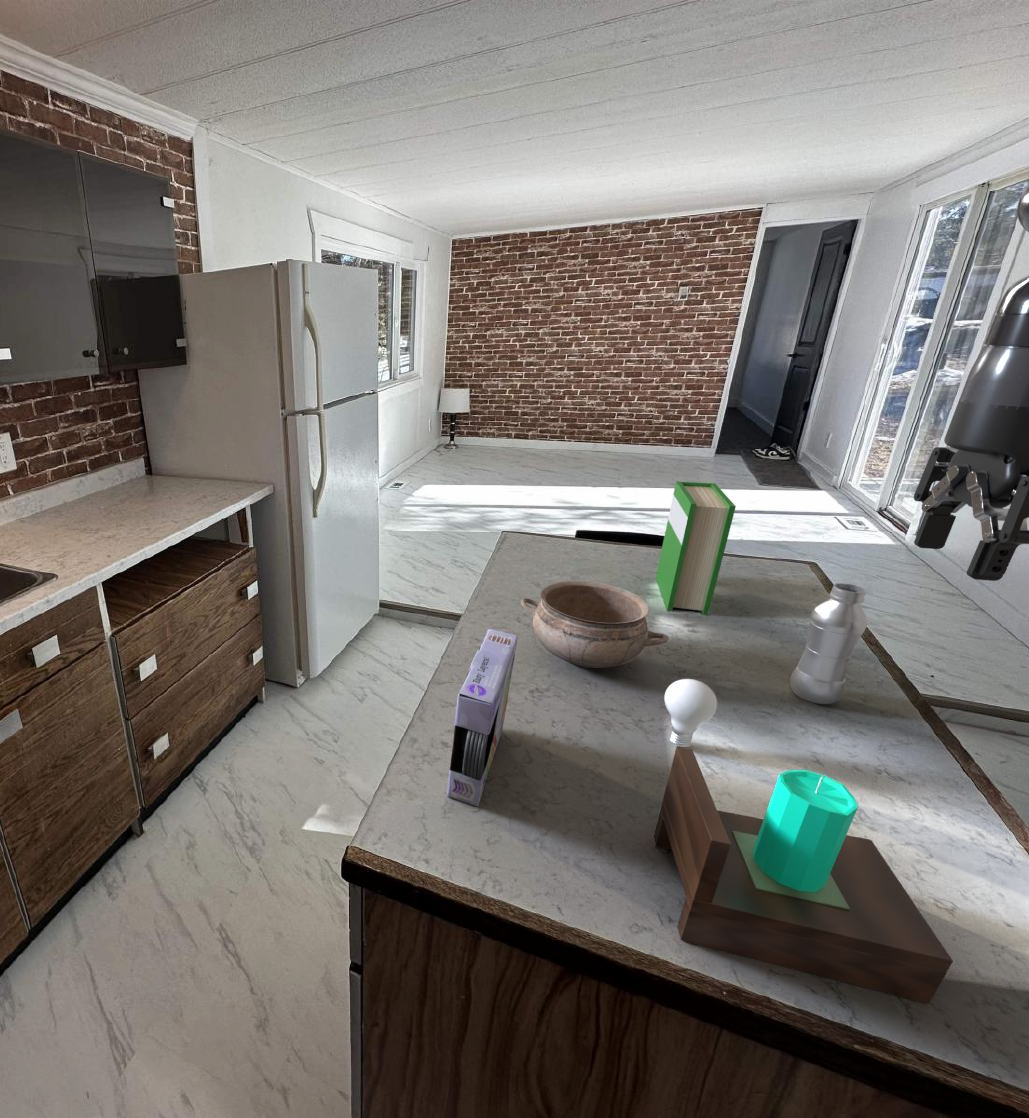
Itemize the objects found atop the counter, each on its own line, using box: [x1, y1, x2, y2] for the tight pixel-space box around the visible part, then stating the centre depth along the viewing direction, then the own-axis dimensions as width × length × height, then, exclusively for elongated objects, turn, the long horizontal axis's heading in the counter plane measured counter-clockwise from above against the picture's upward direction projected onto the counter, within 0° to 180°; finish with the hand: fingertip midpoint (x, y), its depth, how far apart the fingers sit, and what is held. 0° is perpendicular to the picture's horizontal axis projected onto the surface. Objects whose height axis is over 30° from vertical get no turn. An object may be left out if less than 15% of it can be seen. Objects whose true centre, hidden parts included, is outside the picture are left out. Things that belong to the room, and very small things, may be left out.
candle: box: [753, 769, 859, 892], centre depth 60 cm, size 6×6×12 cm
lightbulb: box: [663, 678, 718, 748], centre depth 87 cm, size 6×6×11 cm
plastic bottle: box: [789, 582, 868, 705], centre depth 94 cm, size 6×7×20 cm
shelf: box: [652, 746, 954, 1005], centre depth 62 cm, size 20×14×14 cm
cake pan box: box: [446, 628, 519, 807], centre depth 84 cm, size 19×5×18 cm, turn 151°
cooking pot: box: [520, 580, 670, 669], centre depth 109 cm, size 25×19×12 cm
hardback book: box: [655, 480, 736, 616], centre depth 129 cm, size 18×7×24 cm, turn 157°
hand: (953, 562), depth 60 cm, fingers open, 8 cm apart
